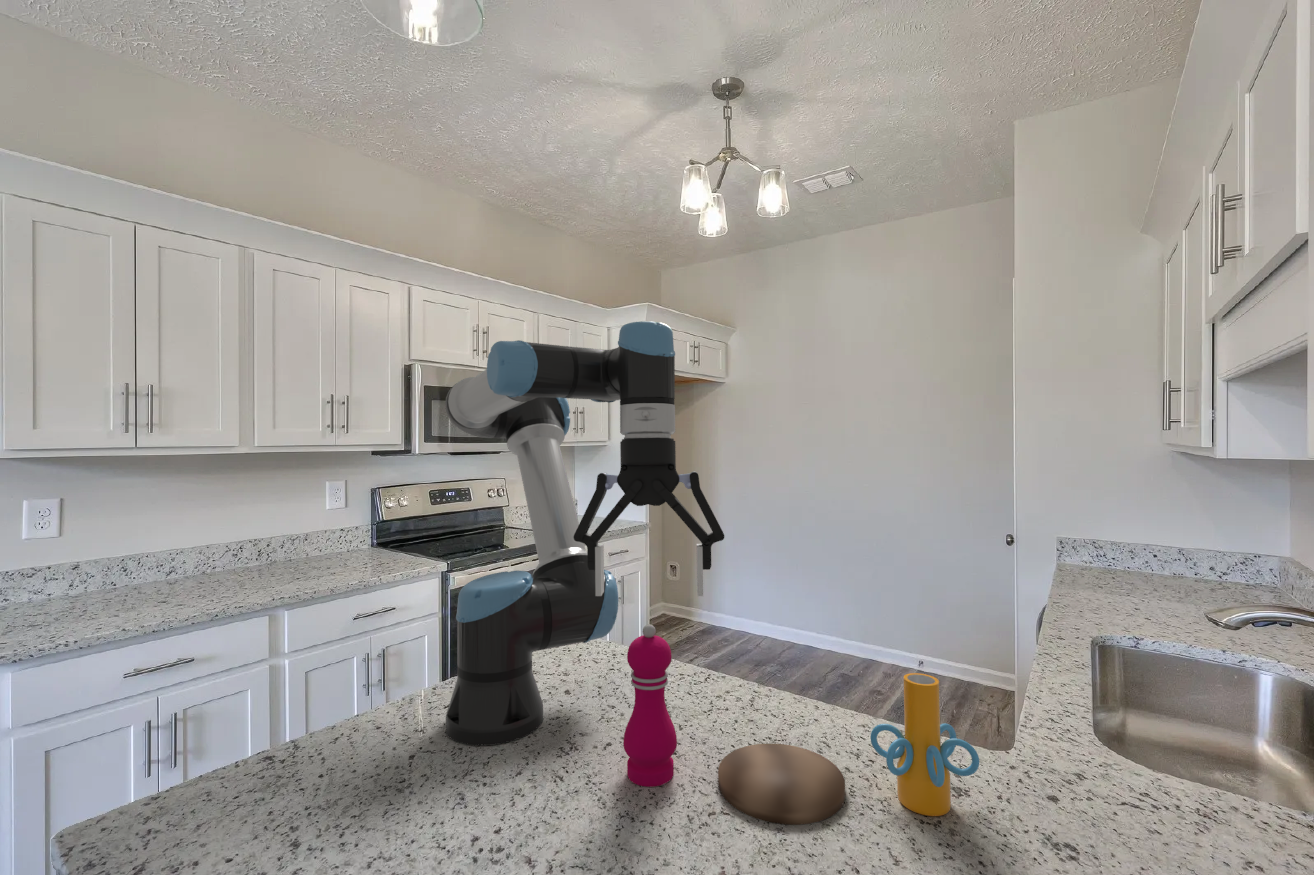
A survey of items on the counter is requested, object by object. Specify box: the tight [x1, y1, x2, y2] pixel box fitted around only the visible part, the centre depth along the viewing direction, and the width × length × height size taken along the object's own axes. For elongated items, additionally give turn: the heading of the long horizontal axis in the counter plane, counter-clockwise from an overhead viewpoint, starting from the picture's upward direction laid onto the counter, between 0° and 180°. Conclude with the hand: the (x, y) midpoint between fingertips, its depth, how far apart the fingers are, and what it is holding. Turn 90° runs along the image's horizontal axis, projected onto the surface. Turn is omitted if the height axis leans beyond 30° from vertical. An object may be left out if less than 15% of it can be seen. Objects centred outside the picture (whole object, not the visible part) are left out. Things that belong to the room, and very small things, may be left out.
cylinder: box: [870, 672, 980, 817], centre depth 72 cm, size 12×10×15 cm
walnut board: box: [717, 743, 846, 826], centre depth 76 cm, size 16×16×2 cm
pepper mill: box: [622, 624, 678, 788], centre depth 79 cm, size 7×7×20 cm
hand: (649, 594), depth 79 cm, fingers open, 13 cm apart
